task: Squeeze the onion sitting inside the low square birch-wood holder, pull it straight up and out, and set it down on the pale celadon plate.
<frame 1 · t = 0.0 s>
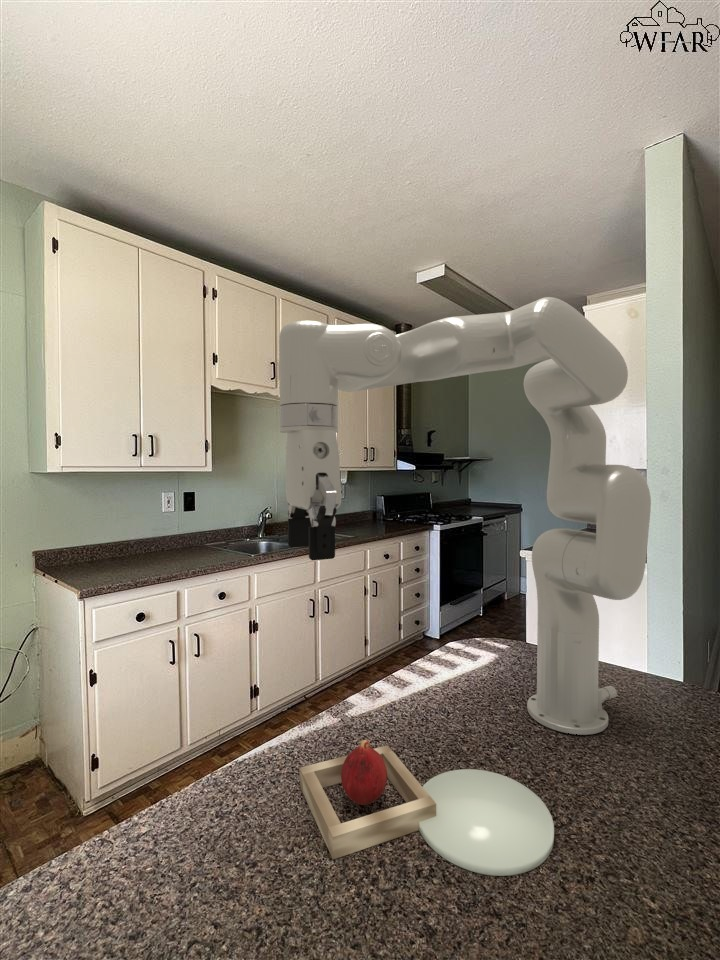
hand: (310, 552, 63), 31 cm above the countertop, tool pointing down, fingers open, 9 cm apart
onion: (364, 805, 61), resting in holder
holder: (364, 804, 61), on the countertop
plate: (482, 819, 58), on the countertop
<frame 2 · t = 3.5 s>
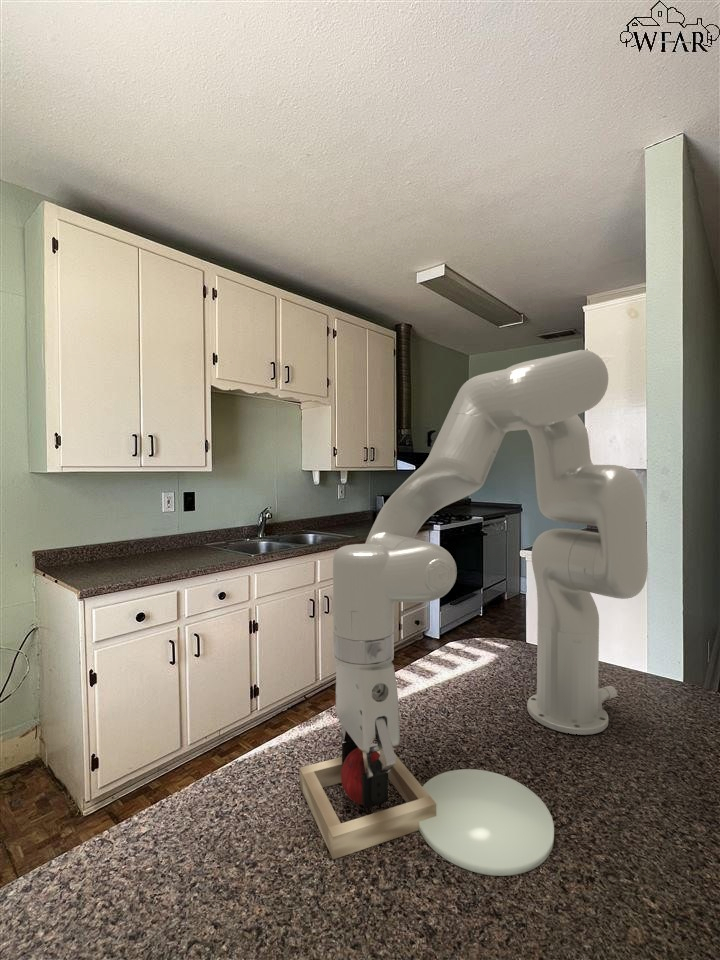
hand: (364, 785, 61), 2 cm above the countertop, tool pointing down, fingers closed on onion, 5 cm apart
onion: (364, 805, 61), resting in holder, touching gripper
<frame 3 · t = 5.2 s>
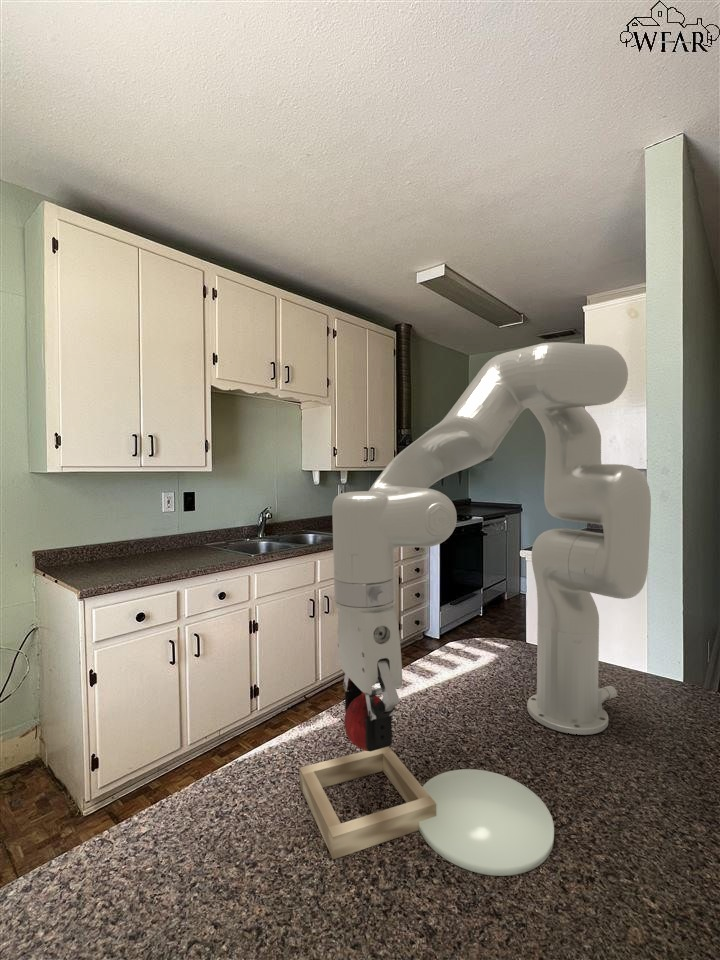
hand: (367, 731, 61), 9 cm above the countertop, tool pointing down, fingers closed on onion, 5 cm apart
onion: (368, 751, 61), point 6 cm above the countertop, touching gripper
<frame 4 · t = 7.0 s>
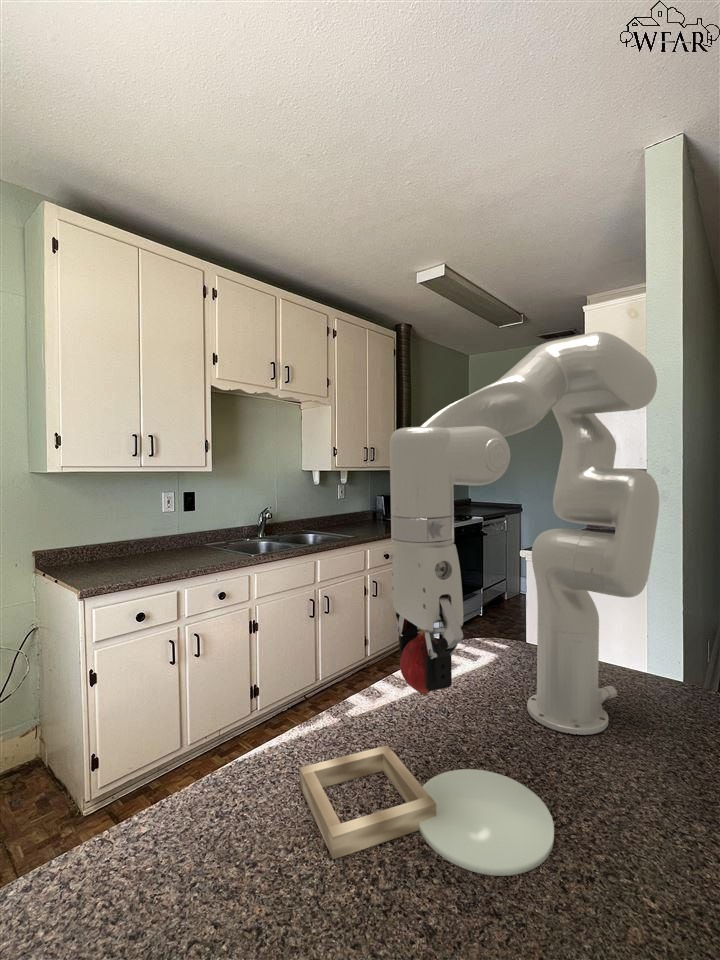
hand: (424, 674, 59), 17 cm above the countertop, tool pointing down, fingers closed on onion, 5 cm apart
onion: (424, 695, 59), point 14 cm above the countertop, touching gripper
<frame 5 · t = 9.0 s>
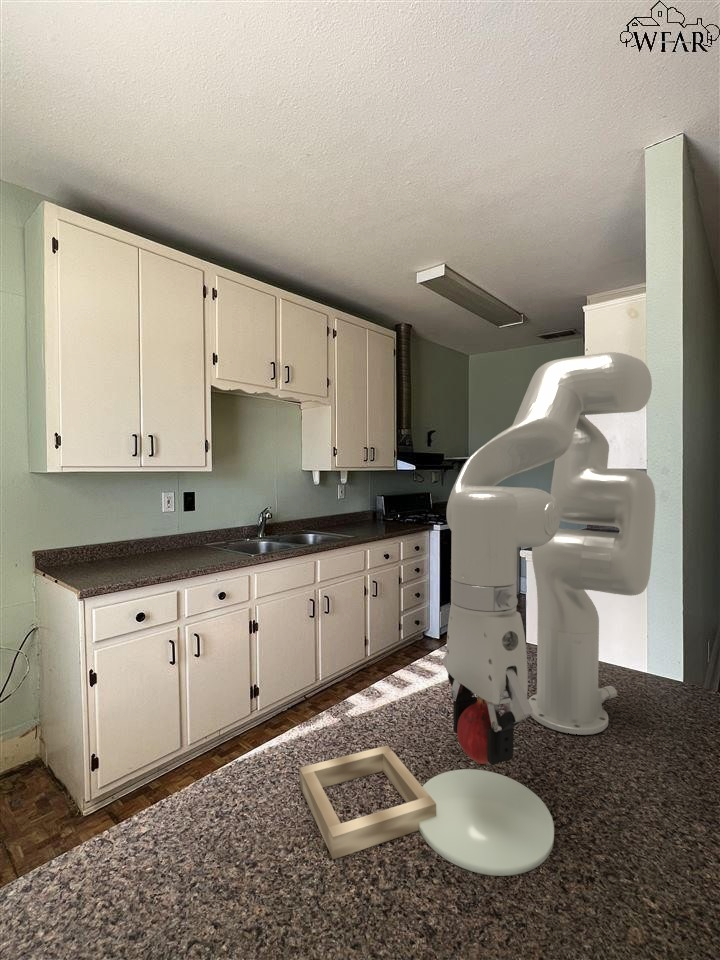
hand: (481, 743, 58), 9 cm above the countertop, tool pointing down, fingers closed on onion, 5 cm apart
onion: (481, 764, 58), point 7 cm above the countertop, touching gripper
when the fingers open (5 cm above the countertop, at t = 10.7 s): onion drops 1 cm, resting on plate.
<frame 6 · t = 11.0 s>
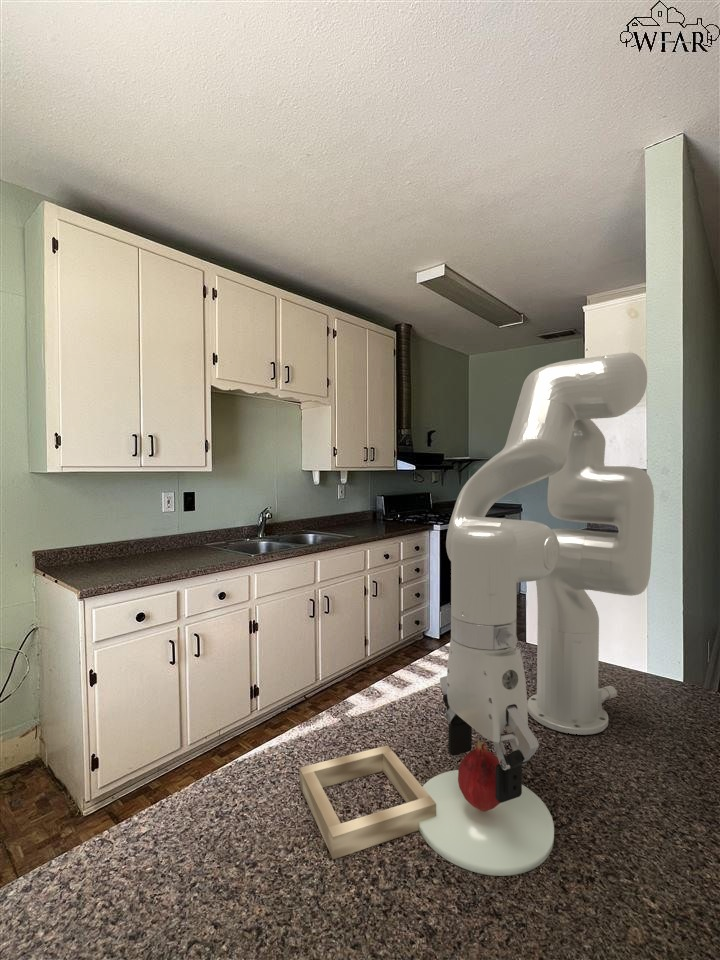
hand: (482, 773, 58), 6 cm above the countertop, tool pointing down, fingers open, 8 cm apart
onion: (483, 812, 58), point 1 cm above the countertop, touching plate
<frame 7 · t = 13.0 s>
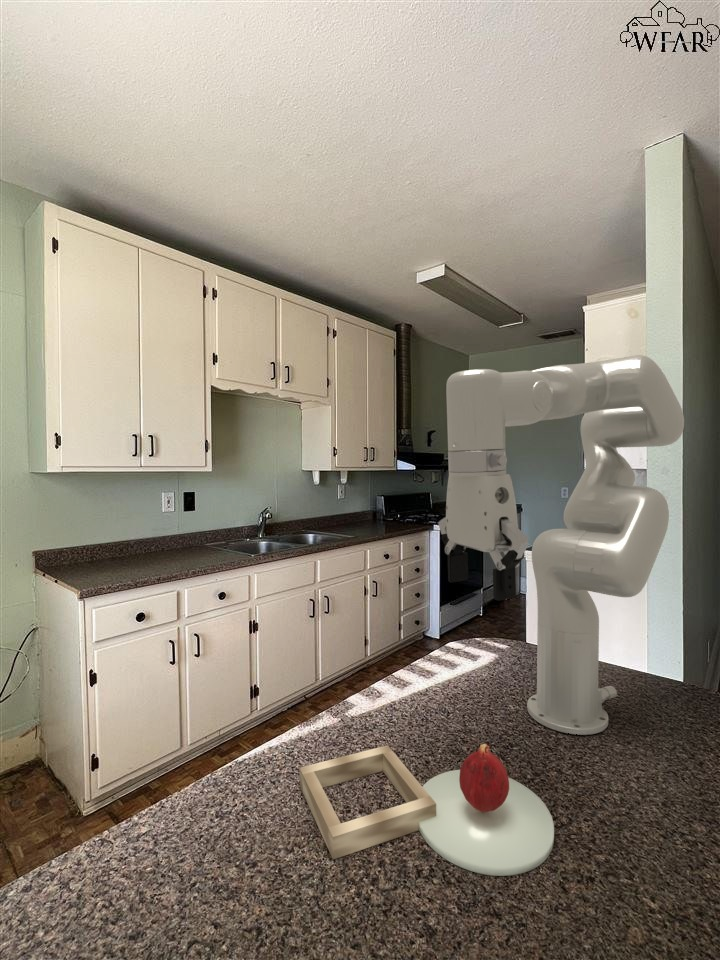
hand: (480, 589, 66), 26 cm above the countertop, tool pointing down, fingers open, 9 cm apart
nothing on the countertop moved.
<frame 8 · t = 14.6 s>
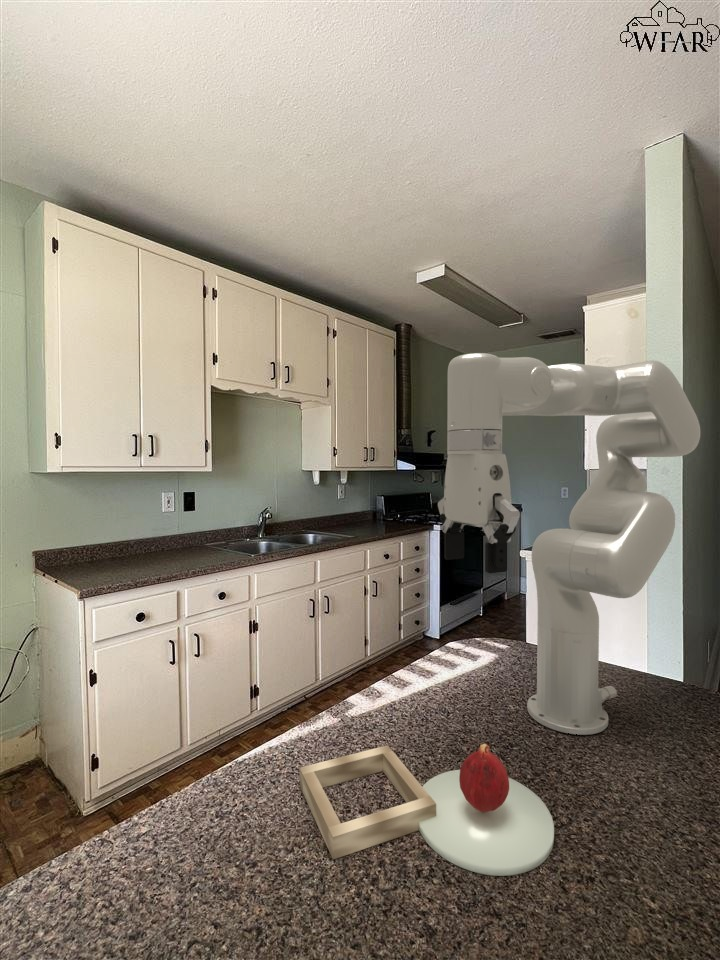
hand: (473, 565, 69), 28 cm above the countertop, tool pointing down, fingers open, 9 cm apart
nothing on the countertop moved.
at the end: onion inside the target area on the plate (0.1 cm from its centre), point 0.8 cm above the plate's base; onion touching plate; the gripper is holding nothing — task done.
